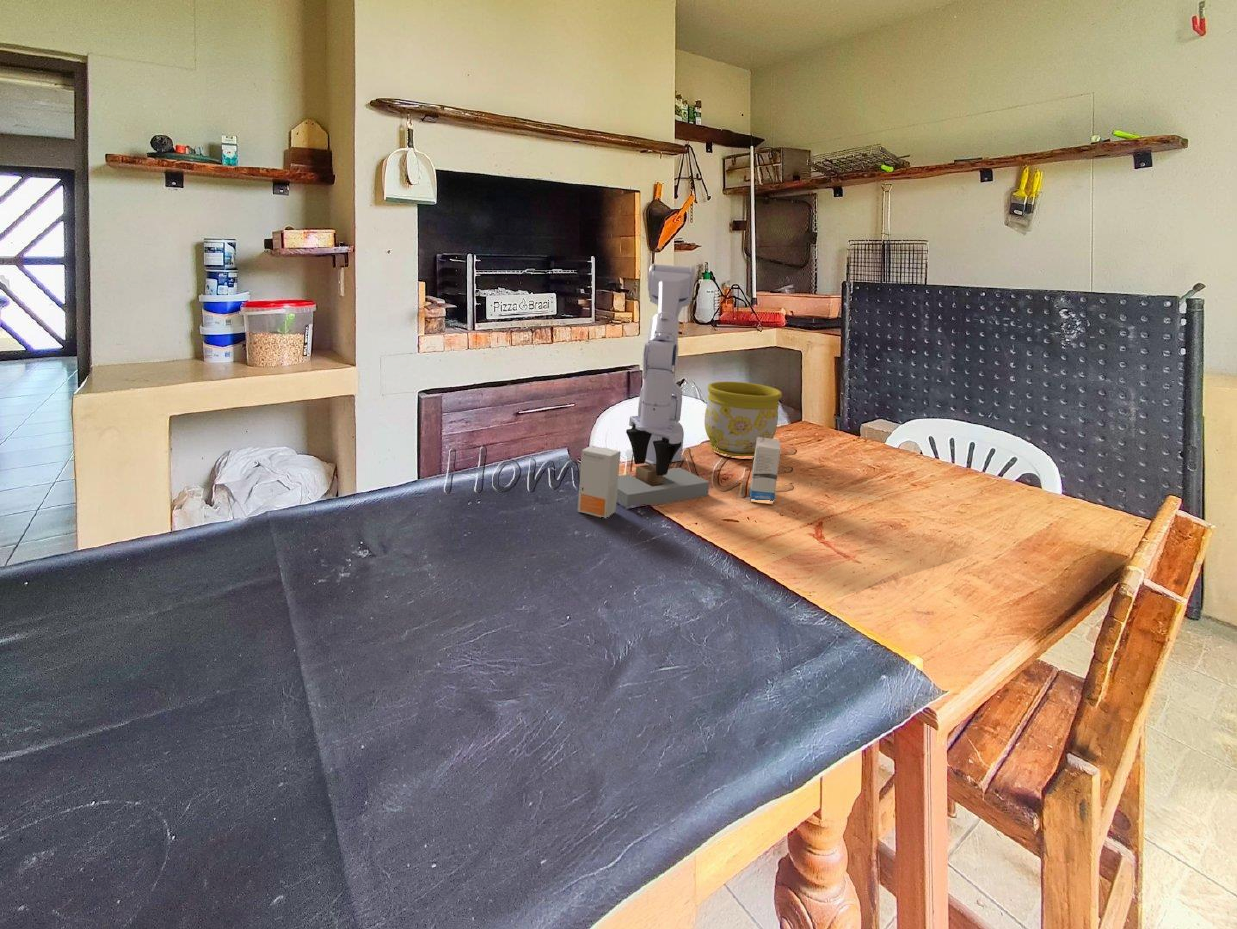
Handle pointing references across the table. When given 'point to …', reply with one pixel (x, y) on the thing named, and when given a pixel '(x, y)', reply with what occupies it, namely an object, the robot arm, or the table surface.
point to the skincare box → (598, 481)
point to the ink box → (765, 469)
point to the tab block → (648, 475)
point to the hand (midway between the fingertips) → (650, 468)
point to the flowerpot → (740, 416)
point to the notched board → (661, 489)
